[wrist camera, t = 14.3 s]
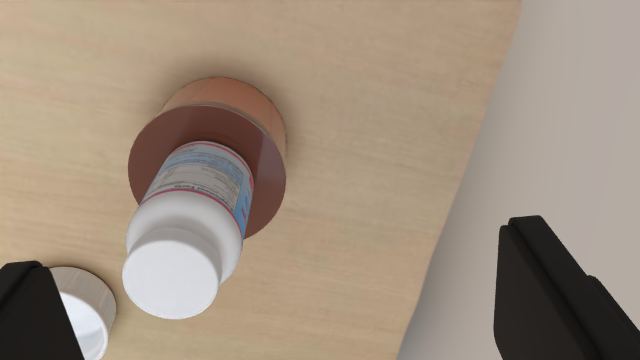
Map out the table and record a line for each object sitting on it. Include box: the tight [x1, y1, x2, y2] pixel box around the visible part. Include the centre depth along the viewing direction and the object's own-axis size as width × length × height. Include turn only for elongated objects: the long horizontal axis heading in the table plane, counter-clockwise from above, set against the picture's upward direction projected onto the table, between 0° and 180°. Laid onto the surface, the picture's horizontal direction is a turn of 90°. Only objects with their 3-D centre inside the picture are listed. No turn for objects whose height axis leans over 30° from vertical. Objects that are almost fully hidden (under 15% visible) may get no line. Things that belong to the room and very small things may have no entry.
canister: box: [128, 77, 287, 239], centre depth 39 cm, size 10×10×7 cm
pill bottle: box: [122, 141, 253, 319], centre depth 31 cm, size 6×6×11 cm
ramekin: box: [50, 267, 116, 360], centre depth 47 cm, size 9×9×4 cm
